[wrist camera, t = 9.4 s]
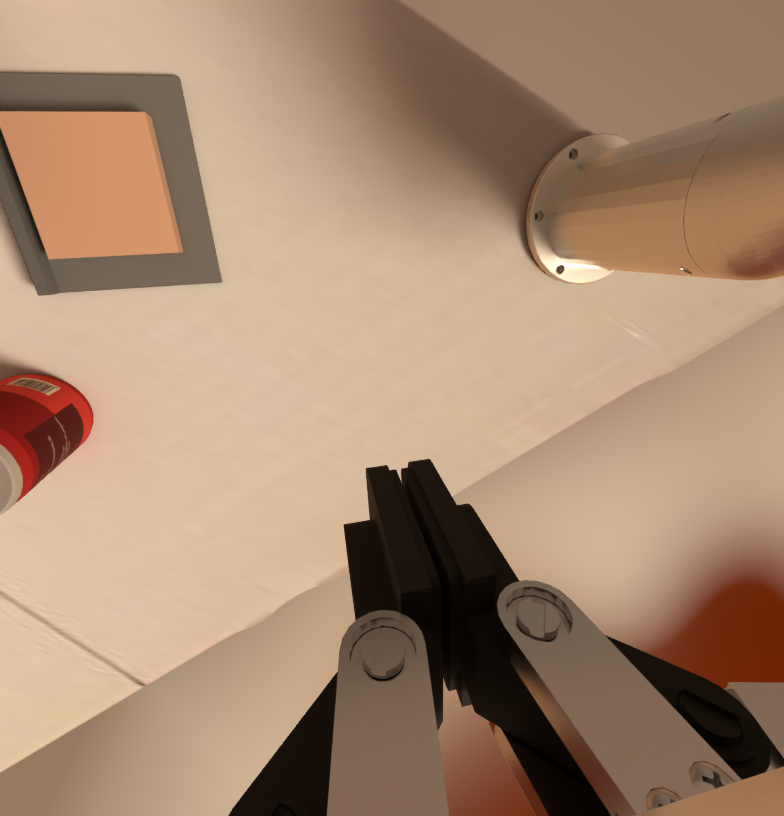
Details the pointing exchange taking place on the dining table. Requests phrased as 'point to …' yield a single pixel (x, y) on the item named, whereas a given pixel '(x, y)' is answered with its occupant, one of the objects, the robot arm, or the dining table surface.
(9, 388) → the canned food
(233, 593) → the dining table surface
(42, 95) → the mat
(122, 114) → the tile
